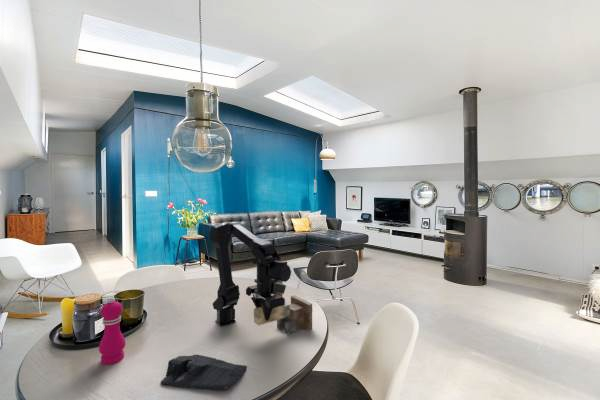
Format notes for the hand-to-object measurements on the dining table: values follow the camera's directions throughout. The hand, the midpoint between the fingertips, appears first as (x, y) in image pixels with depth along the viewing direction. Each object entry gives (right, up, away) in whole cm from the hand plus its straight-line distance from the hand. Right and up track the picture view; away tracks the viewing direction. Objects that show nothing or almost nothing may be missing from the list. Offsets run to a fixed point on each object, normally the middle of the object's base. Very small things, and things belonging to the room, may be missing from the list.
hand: (264, 318), depth 110 cm
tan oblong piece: (+3, -1, +2) cm, 4 cm away
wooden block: (-1, -6, +34) cm, 34 cm away
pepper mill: (-47, -7, -15) cm, 50 cm away
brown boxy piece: (+11, -7, +8) cm, 15 cm away
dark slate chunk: (-15, -8, -23) cm, 28 cm away
